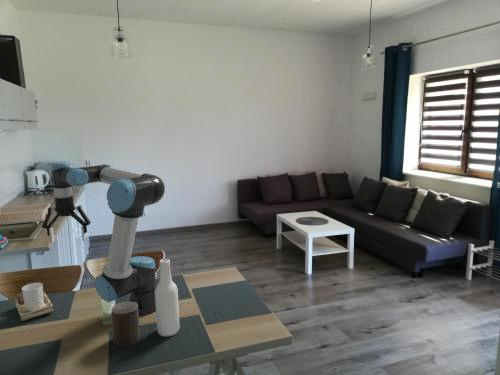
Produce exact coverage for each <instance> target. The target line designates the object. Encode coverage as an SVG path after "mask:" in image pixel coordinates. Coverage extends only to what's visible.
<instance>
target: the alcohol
mask: <svg viewBox="0 0 500 375" xmlns="http://www.w3.org/2000/svg"><path fill="white" fill-rule="evenodd" d="M170 265H171V260H170V259H169V258H162V259H160V260H159V282H158V283H157V284H156V288H155V304H156V311H155V318H156V319H155V320H156V332H157V333H158V334H159V336H161V337H172V336H174V335H176V334H177V333H178V332H179V331H180V326H181V325H180V312H179V308H180V306H179V292H178V291H179V290H178V286H177V284H176V283H175V282H174V281H173V280H172V273H171V266H170Z"/></svg>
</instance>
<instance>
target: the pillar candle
mask: <svg viewBox="0 0 500 375" xmlns="http://www.w3.org/2000/svg"><path fill="white" fill-rule="evenodd" d="M139 316H140V315H138V305H137V303H135V302H128V301H124V302H118V303H116V304H115V305H113V306H112V307H111V322H112V323H111V324H112V337H113V338H112V340H113V345H114V346H115V347H118V348H129V347H132V346H134V345H136V344H137V343H138V342H139V341H140V339H141V332H140V320H139Z"/></svg>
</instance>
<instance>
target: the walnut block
mask: <svg viewBox="0 0 500 375" xmlns="http://www.w3.org/2000/svg"><path fill="white" fill-rule="evenodd" d="M16 296H17V299H18V303H19V304H20V305H24V304H25V303H24V299H23V293H22V292H20V293H17V294H16Z"/></svg>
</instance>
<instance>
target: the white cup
mask: <svg viewBox="0 0 500 375" xmlns="http://www.w3.org/2000/svg"><path fill="white" fill-rule="evenodd" d="M43 292H44V284H43V283H42V282H32V283H28V284H26V285H24V286H22V287H21V293H23V299H24V303H25V307H26V310H27V311H35V310H38V309H41V308H42V307H43V306H44V302H43V299H44V298H43Z"/></svg>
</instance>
